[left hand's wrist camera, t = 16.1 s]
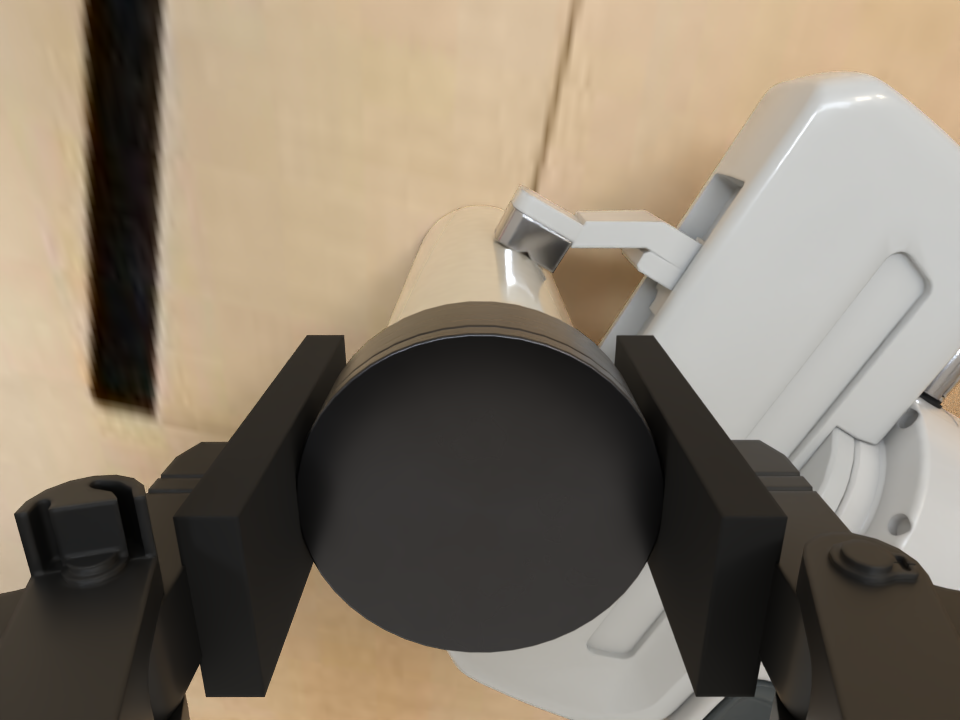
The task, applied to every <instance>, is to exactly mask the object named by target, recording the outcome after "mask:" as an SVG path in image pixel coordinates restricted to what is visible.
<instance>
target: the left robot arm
mask: <svg viewBox="0 0 960 720" xmlns="http://www.w3.org/2000/svg"><path fill="white" fill-rule="evenodd" d="M614 365H615V366H616V368H617V369H618V370H619V372H620V373H621V375H622V376H623V378H624V380H625V382H626V384H627V386H628V388H629V390H630V391H631V393H632V395H633V397H634V399H635V401H636V403H637V405H638V407H639V409H640V411H641V413H642V415H643V417H644V418H645V420H646V422H647V424H648V426H649V428H650V430H651V432H652V434H653V436H654V439H655V442H656V445H657V447H658V450H659V453H660V456H661V461H662V466H663V471H664V477H665V489H664V500H663V509H662V518H661V526H660V531H659V535H658V539H657V541H656V544H655V546H654V548H653V551H652V553H651V555H650V557H649V559H648V561H647V563H648V566H649V569H650V571H651V574H652V577H653V580H654V582H655V585H656V588H657V591H658V593H659V596H660V599H661V602H662V605H663V607H664V610H665V613H666V616H667V618H668V621H669V624H670V627H671V629H672V632H673V635H674V638H675V640H676V643H677V646H678V649H679V652H680V654H681V657H682V660H683V663H684V665H685V668H686V671H687V674H688V676H689V679H690V682H691V685H692V687H693V690H694V693H695V696H696V697H754V696H755V691H756V686H757V680H758V675H759V670H760V664H761V662H762V664H763V666H764V668H765V670H766V672H767V674H768V676H769V678H770V680H771V682H772V684H773V686H774V688H775V694H774V699H773V704H772V709H771V714H770V720H960V591H959V590H954V589H949V588H944V587H940V586H937V585H933V583H932V581H931V579H930V577H929V575H928V574H927V572H926V571H925V570H924V569H923V568H922V566H921V565H920V564H919V563H918V561H916V560H915V559H914V558H912V557H911V556H909V555H908V554H906V553H905V552H903V551H902V550H900V549H899V548H897V547H895V546H892V545H890V544H888V543H885V542H883V541H881V540H878V539H876V538H872V537H868V536H864V535H860V534H855V533H852V532H851V531H850V530H849V529H848V528H847V526H846V525H845V524H844V523H843V522H842V521H841V520H840V518H839V517H838V516H837V515H836V514H835V513H834V511H833V510H832V509H831V508H830V507H829V506H828V504H827V503H826V502H825V501H824V500H823V499H822V497H821V496H820V495H819V494H818V493H817V492H816V491H813V487H812V486H811V485H810V484H809V482H808V481H807V480H806V479H805V478H804V477H803V476H800V472H799V471H798V470H797V468H796V467H795V466H794V465H793V464H792V463H791V461H790V460H789V459H788V458H787V457H786V456H785V455H784V454H782V453H781V452H779V451H777V450H776V449H774V448H772V447H771V446H769V445H767V444H766V443H764V442H762V441H761V440H731V439H730V438H729V437H728V435H727V434H726V433H725V431H724V430H723V429H722V427H721V426H720V425H719V423H718V422H717V421H716V419H715V418H714V416H713V415H712V414H711V412H710V411H709V410H708V408H707V407H706V406H705V404H704V403H703V402H702V400H701V399H700V398H699V396H698V395H697V393H696V392H695V391H694V389H693V388H692V387H691V385H690V384H689V383H688V381H687V380H686V379H685V377H684V376H683V375H682V373H681V372H680V371H679V369H678V368H677V366H676V365H675V364H674V362H673V361H672V360H671V358H670V357H669V356H668V354H667V353H666V352H665V350H664V349H663V348H662V346H661V345H660V343H659V342H658V341H657V339H656V338H655V337H654V335H617V336H616V349H615V362H614ZM345 366H346V355H345V342H344V335H307V336H306V337H305V339H304V340H303V342H302V343H301V344H300V346H299V347H298V348H297V350H296V351H295V352H294V354H293V355H292V356H291V358H290V359H289V360H288V362H287V363H286V364H285V366H284V367H283V369H282V370H281V371H280V373H279V374H278V375H277V377H276V378H275V379H274V381H273V382H272V383H271V385H270V386H269V387H268V389H267V390H266V392H265V393H264V394H263V396H262V397H261V398H260V400H259V401H258V402H257V404H256V405H255V406H254V408H253V409H252V410H251V412H250V413H249V415H248V416H247V417H246V419H245V420H244V421H243V423H242V424H241V425H240V427H239V428H238V429H237V431H236V432H235V433H234V435H233V436H232V437H231V439H230V440H229V442H201V443H199V444H197V445H196V446H194V447H192V448H191V449H189V450H187V451H186V452H184V453H182V454H181V455H179V456H177V457H176V458H175V459H174V460H173V461H172V463H171V464H170V465H169V466H168V467H167V468H166V470H165V471H164V472H163V473H162V474H161V478H158V479H157V480H156V481H155V482H154V484H153V485H152V486H151V487H150V488H149V490H148V493H145V489H144V485H143V484H141V483H140V482H138V481H137V480H136V479H134V478H130V477H125V476H120V475H103V476H91V477H86V478H82V479H77V480H72V481H68V482H66V483H63V484H60V485H58V486H55V487H52V488H50V489H47V490H45V491H43V492H41V493H40V494H38V495H36V496H35V497H33V498H31V499H29V500H28V501H26V502H25V503H24V504H23V505H22V506H21V507H20V508H19V509H18V510H17V511H16V513H15V514H14V516H15V519H16V523H17V527H18V530H19V534H20V537H21V541H22V544H23V548H24V551H25V555H26V559H27V562H28V566H29V569H30V573H31V578H30V580H29V582H28V584H27V586H26V588H24V589H20V590H17V591H12V592H7V593H2V594H0V720H190V717H189V710H188V704H187V699H186V694H185V692H186V690H187V688H188V686H189V684H190V682H191V680H192V678H193V676H194V674H195V672H196V670H197V668H198V666H199V664H200V667H201V672H202V678H203V683H204V688H205V694H206V697H265V694H266V692H267V689H268V686H269V683H270V681H271V678H272V675H273V672H274V670H275V667H276V664H277V661H278V658H279V656H280V653H281V650H282V647H283V645H284V642H285V639H286V636H287V634H288V631H289V628H290V625H291V623H292V620H293V617H294V614H295V611H296V609H297V606H298V603H299V600H300V598H301V595H302V592H303V589H304V587H305V584H306V581H307V578H308V576H309V573H310V570H311V567H312V564H313V562H314V561H313V560H312V558H311V556H310V554H309V551H308V549H307V547H306V544H305V542H304V539H303V537H302V533H301V529H300V521H299V512H298V503H297V493H296V474H297V469H298V464H299V459H300V454H301V451H302V449H303V446H304V443H305V441H306V438H307V435H308V433H309V431H310V429H311V427H312V425H313V423H314V421H315V419H316V417H317V416H318V414H319V412H320V410H321V408H322V406H323V404H324V402H325V400H326V398H327V396H328V394H329V392H330V391H331V389H332V387H333V385H334V383H335V382H336V380H337V378H338V376H339V374H340V373H341V371H342V370H343V369H344V367H345Z"/></svg>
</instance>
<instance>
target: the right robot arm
mask: <svg viewBox="0 0 960 720" xmlns="http://www.w3.org/2000/svg"><path fill="white" fill-rule="evenodd" d="M494 233H495V238H496V239H497V241H499V242H500V243H502V244H503V245H504V246H506V247H508V248H509V249H511V250H513V251H516V252H518V253H519V252H528V254H529V256H530V259H531V260H532V261H533V262H535V263H536V264H538V265H539V266H541V267H543V268H545V269H547V270H548V271H550V272H552V273H553V272H554V271H555V269H556V267H557V266H558V264H559V263H560V261H561V260H562V258H563V257H564V255H565V253H566V252H567V250H568V249H569V247H571V248H621V250H622V254H623V255H624V256H625V257H626V259H627V260H628V261H629V262H630V263H631V264H632V265H633V266H634V267H635V268H636V269H637V270H638V271H639V272H641V273H643V274H644V277H643V278H642V280H641V281H640V283H639V284H638V286H637V287H636V289H635V290H634V292H633V293H632V295H631V296H630V298H629V300H628V301H627V303H626V304H625V306H624V307H623V309H622V310H621V312H620V313H619V315H618V316H617V318H616V319H615V321H614V322H613V324H612V325H611V327H610V328H609V330H608V331H607V333H606V334H605V336H604V337H603V339H602V340H601V342H600V343H599V345H598V347H599V348H600V349H601V350H602V351H603V352H604V353H605V354H606V355H607V356H608V357H609V358H610V360H611V361H612V362H613V364H614V362H615V349H616V336H617V335H654V337H655V338H656V339H657V341H658V342H659V343H660V345H661V346H662V348H663V349H664V350H665V352H666V353H667V354H668V356H669V357H670V358H671V360H672V361H673V362H674V364H675V365H676V366H677V368H678V369H679V371H680V372H681V373H682V375H683V376H684V377H685V379H686V380H687V381H688V383H689V384H690V385H691V387H692V388H693V389H694V391H695V392H696V393H697V395H698V396H699V398H700V399H701V400H702V402H703V403H704V404H705V406H706V407H707V408H708V410H709V411H710V412H711V414H712V415H713V416H714V418H715V419H716V421H717V422H718V423H719V425H720V426H721V427H722V429H723V430H724V431H725V433H726V434H727V435H728V437H729V438H730V439H731V440H761V441H762V442H764V443H766V444H767V445H769V446H771V447H772V448H774V449H776V450H777V451H779V452H781V453H782V454H784V455H785V456H786V457H787V458H788V459H789V460H790V461H791V463H792V464H793V465H794V466H795V467H796V468H797V470H798V471H799V472H800V476H803V477H804V478H805V479H806V480H807V481H808V482H809V484H810V485H811V486H812V487H813V491H816V492H817V493H818V494H819V495H820V496H821V497H822V499H823V500H824V501H825V502H826V503H827V504H828V506H829V507H830V508H831V509H832V510H833V511H834V513H835V514H836V515H837V516H838V517H839V518H840V520H841V521H842V522H843V523H844V524H845V525H846V526H847V528H848V529H849V530H850V531H851V532H852V533H855V534H860V535H864V536H868V537H872V538H876V539H878V540H881V541H883V542H885V543H888V544H890V545H892V546H895V547H897V548H899V549H900V550H902V551H903V552H905V553H906V554H908V555H909V556H911V557H912V558H914V559H915V560H916V561H918V563H919V564H920V565H921V566H922V568H923V569H924V570H925V571H926V572H927V574H928V575H929V577H930V579H931V581H932V583H933V585H937V586H940V587H944V588H949V589H954V590H959V591H960V418H958V417H957V416H955V415H953V414H952V413H950V412H948V411H946V410H945V409H943V408H942V406H941V405H940V404H941V403H942V402H943V401H944V400H945V398H946V397H947V396H948V395H949V394H950V393H951V392H952V391H953V389H954V388H955V387H956V386H957V385H958V384H959V383H960V146H959V145H958V144H957V143H956V142H955V141H954V140H953V139H952V138H951V137H950V136H949V135H948V134H947V133H946V132H945V131H944V130H943V129H942V128H940V127H939V126H938V125H937V124H936V123H935V122H934V121H933V120H931V119H930V118H929V117H928V116H927V115H926V114H925V113H923V112H922V111H921V110H920V109H919V108H918V107H916V106H915V105H914V104H913V103H911V102H910V101H909V100H908V99H906V98H905V97H904V96H903V95H901V94H900V93H899V92H898V91H896V90H895V89H894V88H892V87H891V86H889V85H888V84H887V83H885V82H883V81H882V80H880V79H878V78H877V77H874V76H872V75H869V74H866V73H860V72H854V71H831V72H822V73H817V74H812V75H807V76H803V77H799V78H795V79H791V80H787V81H783V82H780V83H778V84H776V85H774V86H772V87H771V88H770V89H769V90H768V91H767V92H766V93H765V94H764V96H763V97H762V98H761V100H760V101H759V103H758V104H757V106H756V108H755V109H754V111H753V112H752V114H751V115H750V117H749V118H748V120H747V121H746V123H745V124H744V126H743V127H742V129H741V130H740V132H739V133H738V135H737V136H736V138H735V139H734V141H733V142H732V144H731V145H730V147H729V148H728V150H727V151H726V153H725V154H724V156H723V157H722V159H721V161H720V162H719V164H718V165H717V167H716V168H715V170H714V171H713V173H712V174H711V176H710V177H709V179H708V180H707V182H706V183H705V185H704V186H703V188H702V189H701V191H700V192H699V194H698V195H697V197H696V198H695V200H694V201H693V203H692V204H691V206H690V207H689V209H688V210H687V212H686V213H685V215H684V216H683V218H682V219H681V221H680V222H679V224H678V225H677V227H676V228H675V227H673V226H672V225H670V224H668V223H667V222H665V221H663V220H662V219H660V218H658V217H657V216H655V215H653V214H651V213H650V212H648V211H646V210H599V211H577V212H576V213H575V215H574V214H572V213H571V212H569V211H567V210H565V209H564V208H562V207H560V206H559V205H557V204H555V203H553V202H552V201H550V200H548V199H547V198H545V197H543V196H541V195H540V194H538V193H536V192H535V191H533V190H531V189H529V188H527V187H524V186H522V185H519V187H518V189H517V191H516V193H515V194H514V196H513V198H512V200H511V201H510V203H509V205H508V207H507V208H506V210H505V212H504V214H503V216H502V218H501V219H500V221H499V223H498V225H497V227H496V229H495V230H494ZM446 651H447V652H448V654H449V656H450V657H451V659H452V661H453V662H454V664H455V666H456V667H457V668H458V669H459V670H460V671H461V672H462V673H464V674H465V675H466V676H468V677H470V678H471V679H473V680H475V681H477V682H479V683H481V684H483V685H485V686H487V687H489V688H492V689H494V690H496V691H498V692H500V693H503V694H505V695H507V696H509V697H512V698H514V699H517V700H519V701H522V702H524V703H526V704H529V705H531V706H534V707H537V708H539V709H542V710H545V711H547V712H550V713H553V714H555V715H558V716H561V717H564V718H567V719H570V720H770V714H771V709H772V704H773V699H774V694H775V688H774V686H773V684H772V682H771V680H770V678H769V676H768V674H767V672H766V670H765V668H764V666H763V664H762V662H761V664H760V670H759V675H758V680H757V686H756V691H755V696H754V697H696V696H695V693H694V690H693V687H692V685H691V682H690V679H689V676H688V674H687V671H686V668H685V665H684V663H683V660H682V657H681V654H680V652H679V649H678V646H677V643H676V640H675V638H674V635H673V632H672V629H671V627H670V624H669V621H668V618H667V616H666V613H665V610H664V607H663V605H662V602H661V599H660V596H659V593H658V591H657V588H656V585H655V582H654V580H653V577H652V574H651V571H650V569H649V566H648V563H646V564H645V566H644V568H643V569H642V571H641V573H640V574H639V576H638V577H637V579H636V580H635V581H634V582H633V583H632V585H631V586H630V587H629V588H628V590H627V591H626V592H625V593H624V594H623V595H622V596H621V597H620V598H619V599H618V600H617V601H616V602H615V603H614V604H613V605H612V606H611V607H610V608H608V609H607V610H606V611H604V612H603V613H602V614H600V615H599V616H598V617H596V618H595V619H594V620H592V621H590V622H589V623H587V624H585V625H583V626H582V627H580V628H578V629H577V630H575V631H573V632H571V633H568V634H566V635H564V636H561V637H559V638H557V639H555V640H552V641H548V642H545V643H542V644H539V645H536V646H532V647H527V648H522V649H517V650H512V651H503V652H492V653H467V652H458V651H449V650H446Z"/></svg>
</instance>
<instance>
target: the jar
mask: <svg viewBox="0 0 960 720" xmlns="http://www.w3.org/2000/svg"><path fill="white" fill-rule="evenodd" d="M504 212H505V210H503V209H501V208H497V207H493V206H486V205H474V206H467V207H463V208H460V209H457V210H455V211H452V212H450V213H449V214H447V215H445V216H444V217H442V218H441V219H440V220H439V221H437V222H436V223H435V224H434V225H433V226H432V227H431V228H430V230H429V231H428V233H427V234H426V235H425V237H424V239H423V241H422V243H421V246H420V248H419V250H418V253H417V255H416V258H415V260H414V262H413V265H412V267H411V270H410V272H409V274H408V277H407V279H406V282H405V284H404V286H403V289H402V291H401V294H400V296H399V298H398V301H397V303H396V306H395V308H394V311H393V313H392V315H391V318H390V320H389V323H388V325H387V327H389V326H391V325H392V324H394V323H396V322H398V321H400V320H401V319H403V318H405V317H408V316H410V315H413V314H415V313H418V312H420V311H423V310H426V309H429V308H433V307H437V306H441V305H445V304H451V303H460V302H468V301H494V302H501V303H509V304H516V305H520V306H523V307H527V308H531V309H535V310H538V311H541V312H543V313H545V314H548V315H550V316H553V317H555V318H558V319H560V320H561V321H563V322H565V323H567V324H568V325H570V326H572V327H573V328H574V326H573V324H572V322H571V319H570V317H569V314H568V312H567V310H566V307H565V305H564V302H563V300H562V298H561V295H560V293H559V290H558V288H557V285H556V283H555V281H554V278H553V276H552V273H551V272H550V271H548V270H547V269H545V268H543V267H541V266H539V265H538V264H536V263H535V262H533V261H532V260H531V259H530V256H529V254H528V252H519V253H518V252H516V251H513V250H511V249H509V248H508V247H506V246H504V245H503V244H502V243H500V242H499V241H497V239H496V238H495V233H494V230H495V229H496V227H497V225H498V223H499V221H500V219H501V218H502V216H503V214H504ZM387 327H386V328H387Z"/></svg>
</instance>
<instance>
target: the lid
mask: <svg viewBox="0 0 960 720" xmlns="http://www.w3.org/2000/svg"><path fill="white" fill-rule="evenodd" d="M664 489H665V477H664V471H663V466H662V461H661V456H660V453H659V450H658V447H657V445H656V442H655V439H654V436H653V434H652V432H651V430H650V428H649V426H648V424H647V422H646V420H645V418H644V417H643V415H642V413H641V411H640V409H639V407H638V405H637V403H636V401H635V399H634V397H633V395H632V393H631V391H630V390H629V388H628V386H627V384H626V382H625V380H624V378H623V376H622V375H621V373H620V372H619V370H618V369H617V368H616V366H615V365H614V364H613V362H612V361H611V360H610V358H609V357H608V356H607V355H606V354H605V353H604V352H603V351H602V350H601V349H600V348H599V347H598V346H597V345H596V344H595V343H594V342H593V341H591V340H590V339H589V338H587V337H586V336H585V335H584V334H582V333H581V332H580V331H578V330H577V329H575V328H573V327H572V326H570V325H568V324H567V323H565V322H563V321H561V320H560V319H558V318H555V317H553V316H550V315H548V314H545V313H543V312H541V311H538V310H535V309H531V308H527V307H523V306H520V305H516V304H509V303H501V302H494V301H468V302H460V303H451V304H445V305H441V306H437V307H433V308H429V309H426V310H423V311H420V312H418V313H415V314H413V315H410V316H408V317H405V318H403V319H401V320H400V321H398V322H396V323H394V324H392V325H391V326H389V327H387V328H385V329H384V330H382V331H381V332H380V333H378V334H377V335H376V336H374V337H373V338H372V339H370V340H369V341H368V342H367V343H366V344H365V345H364V346H363V347H362V348H361V349H360V350H359V351H358V352H357V353H356V354H355V355H354V356H353V357H352V358H351V359H350V361H349V362H348V363H347V365H346V366H345V367H344V369H343V370H342V371H341V373H340V374H339V376H338V378H337V380H336V382H335V383H334V385H333V387H332V389H331V391H330V392H329V394H328V396H327V398H326V400H325V402H324V404H323V406H322V408H321V410H320V412H319V414H318V416H317V417H316V419H315V421H314V423H313V425H312V427H311V429H310V431H309V433H308V435H307V438H306V441H305V443H304V446H303V449H302V451H301V454H300V459H299V464H298V469H297V474H296V493H297V503H298V512H299V521H300V529H301V533H302V537H303V539H304V542H305V544H306V547H307V549H308V551H309V554H310V556H311V558H312V560H313V561H314V563H315V565H316V566H317V568H318V570H319V572H320V573H321V575H322V576H323V577H324V579H325V580H326V581H327V583H328V584H329V585H330V586H331V588H332V589H333V590H334V591H335V592H336V593H337V594H338V595H339V596H340V597H341V598H342V599H343V600H344V601H345V602H346V603H347V604H348V605H349V606H350V607H351V608H353V609H354V610H355V611H357V612H358V613H359V614H361V615H362V616H363V617H364V618H366V619H367V620H369V621H371V622H372V623H374V624H376V625H377V626H379V627H381V628H382V629H384V630H386V631H388V632H390V633H393V634H395V635H397V636H399V637H401V638H404V639H406V640H410V641H413V642H416V643H419V644H422V645H425V646H429V647H434V648H438V649H443V650H449V651H458V652H467V653H492V652H503V651H512V650H517V649H522V648H527V647H532V646H536V645H539V644H542V643H545V642H548V641H552V640H555V639H557V638H559V637H561V636H564V635H566V634H568V633H571V632H573V631H575V630H577V629H578V628H580V627H582V626H583V625H585V624H587V623H589V622H590V621H592V620H594V619H595V618H596V617H598V616H599V615H600V614H602V613H603V612H604V611H606V610H607V609H608V608H610V607H611V606H612V605H613V604H614V603H615V602H616V601H617V600H618V599H619V598H620V597H621V596H622V595H623V594H624V593H625V592H626V591H627V590H628V588H629V587H630V586H631V585H632V583H633V582H634V581H635V580H636V579H637V577H638V576H639V574H640V573H641V571H642V569H643V568H644V566H645V564H646V563H647V561H648V559H649V557H650V555H651V553H652V551H653V548H654V546H655V544H656V541H657V539H658V535H659V531H660V526H661V518H662V509H663V500H664Z"/></svg>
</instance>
